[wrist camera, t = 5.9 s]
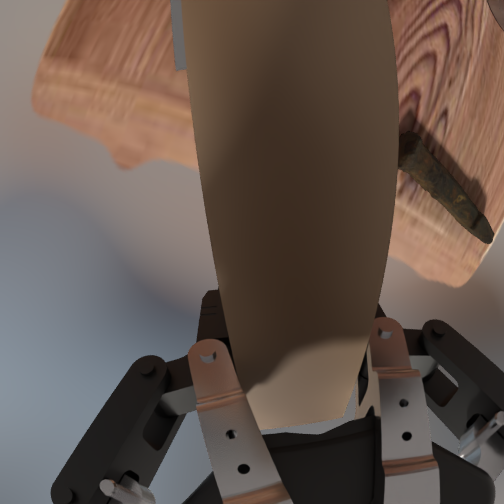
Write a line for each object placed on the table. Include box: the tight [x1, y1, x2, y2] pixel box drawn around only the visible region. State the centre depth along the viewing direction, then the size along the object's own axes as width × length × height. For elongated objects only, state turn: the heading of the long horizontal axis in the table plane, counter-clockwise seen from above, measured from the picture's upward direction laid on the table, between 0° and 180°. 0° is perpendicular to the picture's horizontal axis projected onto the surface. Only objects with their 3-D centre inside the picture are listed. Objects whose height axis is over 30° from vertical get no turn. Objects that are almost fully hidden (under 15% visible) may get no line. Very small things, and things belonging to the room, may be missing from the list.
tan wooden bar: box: [181, 0, 399, 430], centre depth 8 cm, size 4×18×5 cm, turn 5°
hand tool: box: [398, 131, 494, 244], centre depth 24 cm, size 19×4×5 cm, turn 59°
